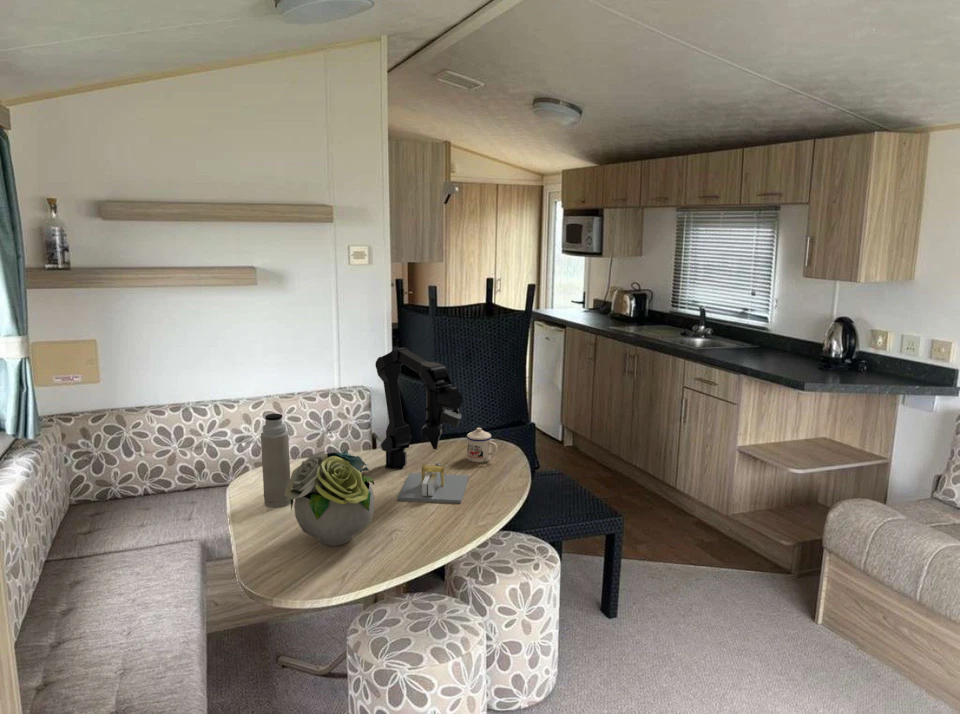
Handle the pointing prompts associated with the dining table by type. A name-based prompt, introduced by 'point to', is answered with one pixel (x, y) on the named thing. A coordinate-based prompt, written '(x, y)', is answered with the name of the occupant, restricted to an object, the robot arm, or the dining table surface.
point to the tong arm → (433, 483)
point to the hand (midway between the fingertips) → (435, 448)
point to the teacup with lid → (479, 446)
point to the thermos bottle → (275, 461)
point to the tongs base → (446, 493)
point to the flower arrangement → (331, 496)
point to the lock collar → (433, 469)
